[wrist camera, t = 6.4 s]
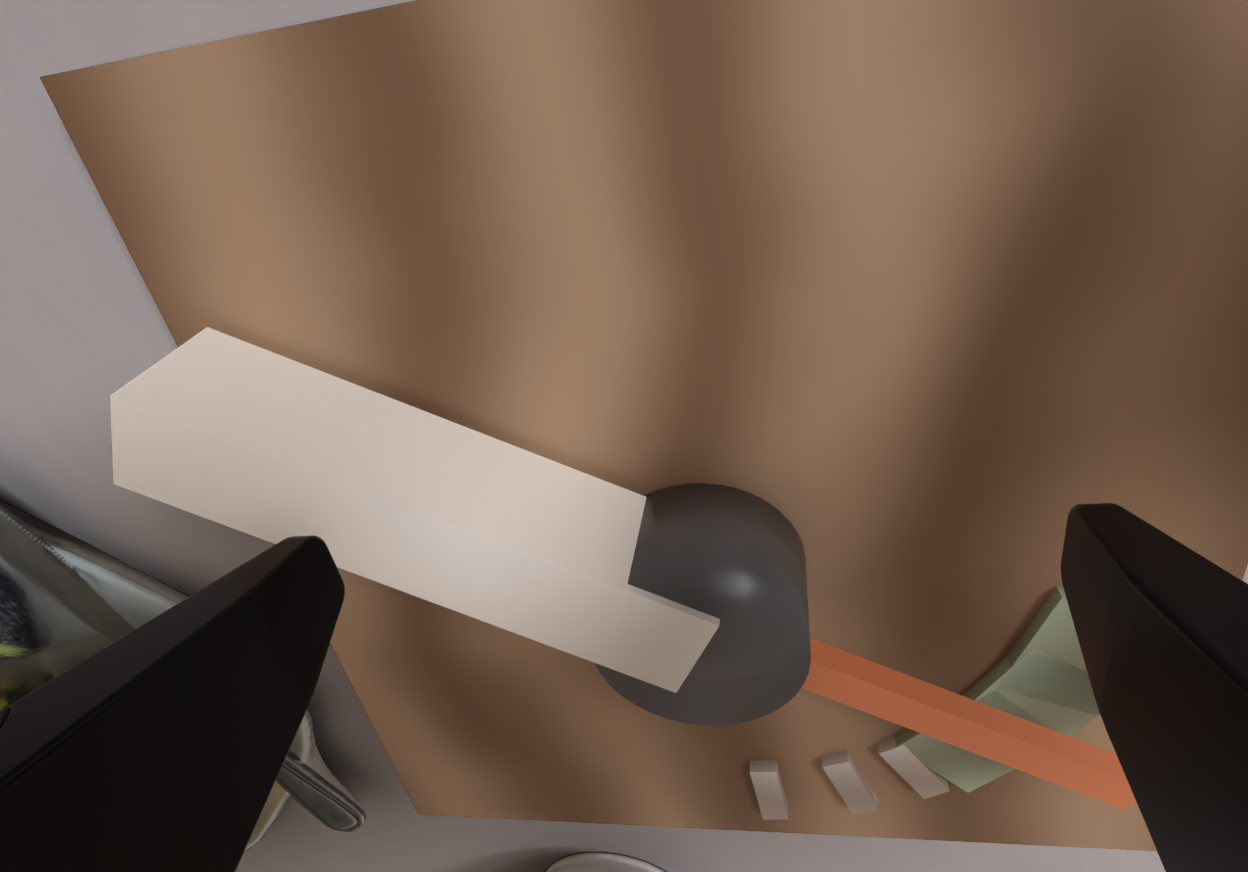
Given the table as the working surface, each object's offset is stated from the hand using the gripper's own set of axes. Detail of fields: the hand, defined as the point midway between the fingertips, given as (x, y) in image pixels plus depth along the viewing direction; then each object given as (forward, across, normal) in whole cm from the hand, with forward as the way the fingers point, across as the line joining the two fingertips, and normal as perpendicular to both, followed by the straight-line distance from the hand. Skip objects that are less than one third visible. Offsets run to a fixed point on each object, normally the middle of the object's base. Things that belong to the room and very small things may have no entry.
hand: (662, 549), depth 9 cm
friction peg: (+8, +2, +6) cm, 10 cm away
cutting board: (+9, +1, +7) cm, 12 cm away
